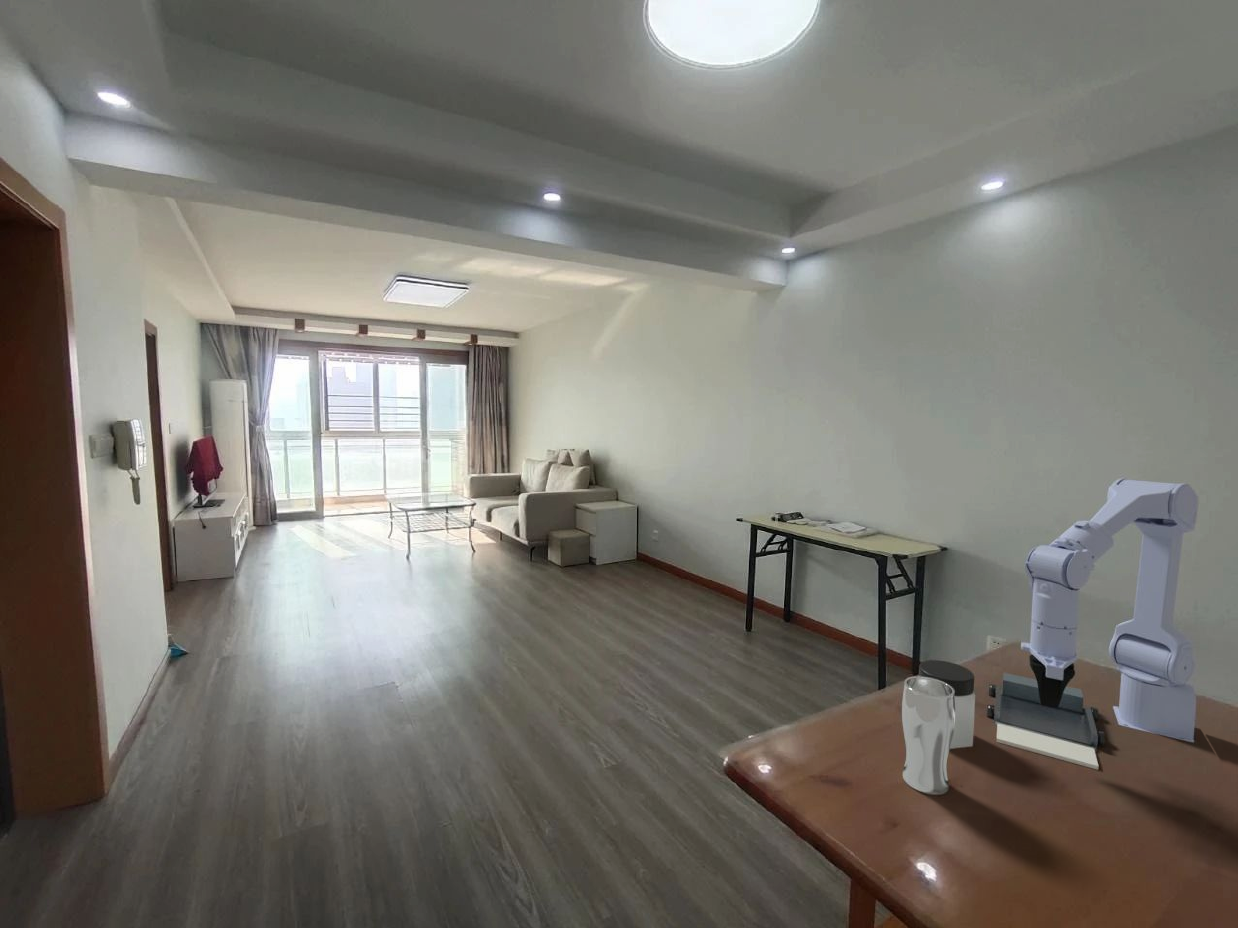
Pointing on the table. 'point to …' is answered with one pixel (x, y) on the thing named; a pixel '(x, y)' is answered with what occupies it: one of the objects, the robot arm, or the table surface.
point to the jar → (956, 696)
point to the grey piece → (1044, 711)
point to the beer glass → (927, 732)
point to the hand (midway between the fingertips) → (1049, 705)
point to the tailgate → (1047, 745)
